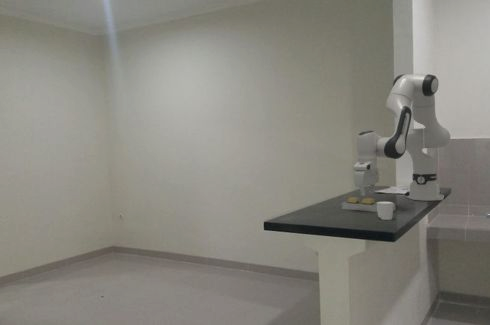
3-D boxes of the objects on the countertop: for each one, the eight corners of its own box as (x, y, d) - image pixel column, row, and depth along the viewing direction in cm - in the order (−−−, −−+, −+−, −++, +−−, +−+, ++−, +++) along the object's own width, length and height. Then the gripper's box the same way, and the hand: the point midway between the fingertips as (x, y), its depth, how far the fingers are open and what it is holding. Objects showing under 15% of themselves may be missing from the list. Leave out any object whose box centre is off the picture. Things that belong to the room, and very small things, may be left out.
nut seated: (351, 207, 200) (351, 197, 200) (359, 207, 198) (359, 197, 197) (348, 208, 197) (348, 198, 197) (356, 209, 194) (355, 198, 194)
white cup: (393, 220, 169) (393, 203, 169) (376, 219, 171) (376, 203, 171) (393, 217, 175) (393, 201, 175) (377, 216, 178) (376, 201, 177)
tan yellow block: (366, 208, 195) (365, 198, 195) (374, 209, 193) (373, 198, 193) (362, 209, 192) (362, 199, 192) (370, 210, 190) (370, 199, 190)
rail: (349, 207, 203) (349, 200, 203) (395, 211, 189) (395, 203, 188) (341, 210, 197) (341, 202, 197) (388, 214, 182) (388, 206, 182)
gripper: (369, 163, 202) (370, 190, 203) (351, 166, 186) (352, 196, 187) (382, 163, 198) (382, 191, 199) (364, 167, 182) (365, 197, 183)
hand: (367, 194), depth 193 cm, fingers open, 8 cm apart
